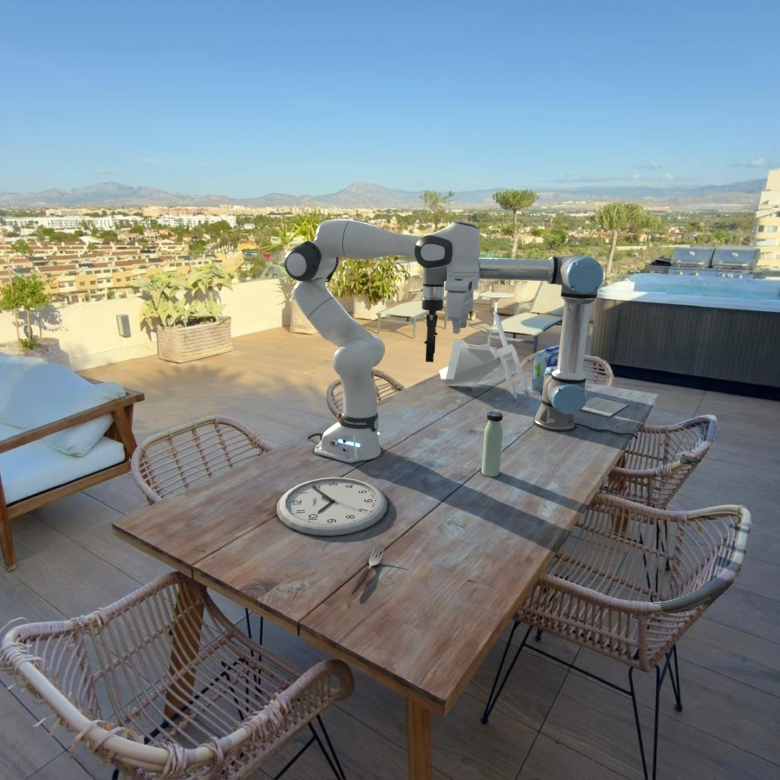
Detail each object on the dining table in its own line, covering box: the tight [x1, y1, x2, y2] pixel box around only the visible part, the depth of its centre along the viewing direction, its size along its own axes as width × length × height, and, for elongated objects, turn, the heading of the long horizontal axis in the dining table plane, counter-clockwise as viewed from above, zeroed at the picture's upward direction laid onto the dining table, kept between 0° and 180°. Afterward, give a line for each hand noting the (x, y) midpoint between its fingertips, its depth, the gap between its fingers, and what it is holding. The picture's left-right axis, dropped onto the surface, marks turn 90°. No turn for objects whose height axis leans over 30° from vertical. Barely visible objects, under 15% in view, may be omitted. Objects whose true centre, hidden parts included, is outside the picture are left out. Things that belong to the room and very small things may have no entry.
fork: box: [351, 545, 385, 596], centre depth 114 cm, size 3×16×2 cm, turn 160°
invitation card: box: [580, 396, 629, 418], centre depth 226 cm, size 21×1×15 cm
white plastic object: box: [438, 310, 531, 400], centre depth 245 cm, size 37×45×31 cm
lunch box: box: [531, 344, 560, 393], centre depth 245 cm, size 26×11×21 cm, turn 134°
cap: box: [486, 410, 504, 422], centre depth 158 cm, size 5×5×2 cm
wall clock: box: [276, 476, 388, 537], centre depth 142 cm, size 30×2×30 cm
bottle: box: [480, 420, 504, 478], centre depth 161 cm, size 6×6×19 cm
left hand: (459, 330), depth 152 cm, fingers open, 8 cm apart
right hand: (430, 357), depth 190 cm, fingers open, 13 cm apart
